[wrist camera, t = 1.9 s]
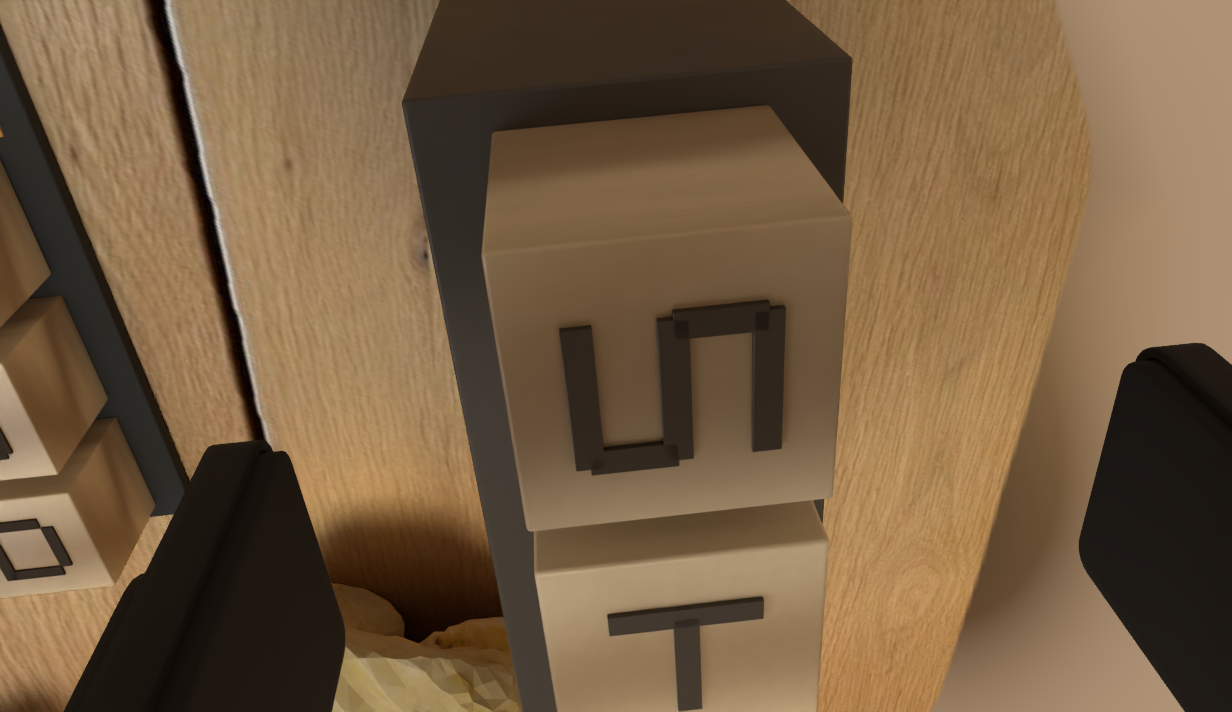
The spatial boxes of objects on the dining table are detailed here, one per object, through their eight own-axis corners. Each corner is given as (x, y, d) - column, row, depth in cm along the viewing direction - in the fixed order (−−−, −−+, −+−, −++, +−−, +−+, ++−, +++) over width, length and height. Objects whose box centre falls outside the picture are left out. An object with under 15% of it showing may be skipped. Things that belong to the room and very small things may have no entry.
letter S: (491, 131, 14) (479, 257, 11) (770, 103, 15) (856, 219, 11) (526, 365, 17) (527, 538, 13) (766, 340, 17) (835, 504, 13)
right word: (460, -60, 28) (355, 221, 10) (693, -81, 28) (972, 158, 11) (542, 485, 39) (556, 1054, 22) (707, 467, 39) (852, 1016, 22)
